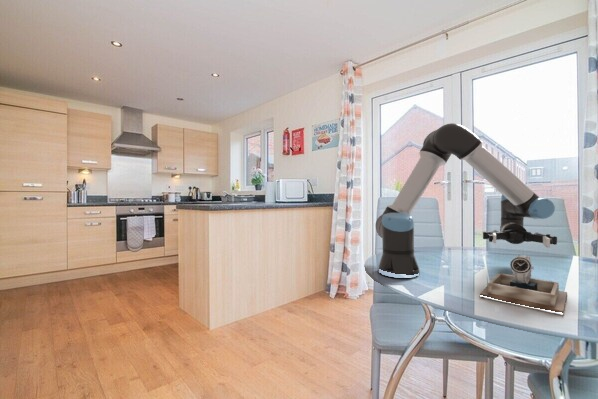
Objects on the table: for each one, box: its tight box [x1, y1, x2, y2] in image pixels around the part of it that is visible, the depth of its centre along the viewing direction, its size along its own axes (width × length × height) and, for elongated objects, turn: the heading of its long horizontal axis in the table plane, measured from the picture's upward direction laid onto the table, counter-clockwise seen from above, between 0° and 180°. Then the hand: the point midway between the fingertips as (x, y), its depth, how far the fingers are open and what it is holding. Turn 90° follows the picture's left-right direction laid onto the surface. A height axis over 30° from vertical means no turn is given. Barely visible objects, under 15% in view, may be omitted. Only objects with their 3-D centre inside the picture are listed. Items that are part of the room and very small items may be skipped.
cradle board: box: [479, 273, 568, 313], centre depth 82 cm, size 18×18×4 cm
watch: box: [509, 254, 537, 291], centre depth 82 cm, size 6×8×11 cm
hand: (520, 241), depth 90 cm, fingers open, 13 cm apart
